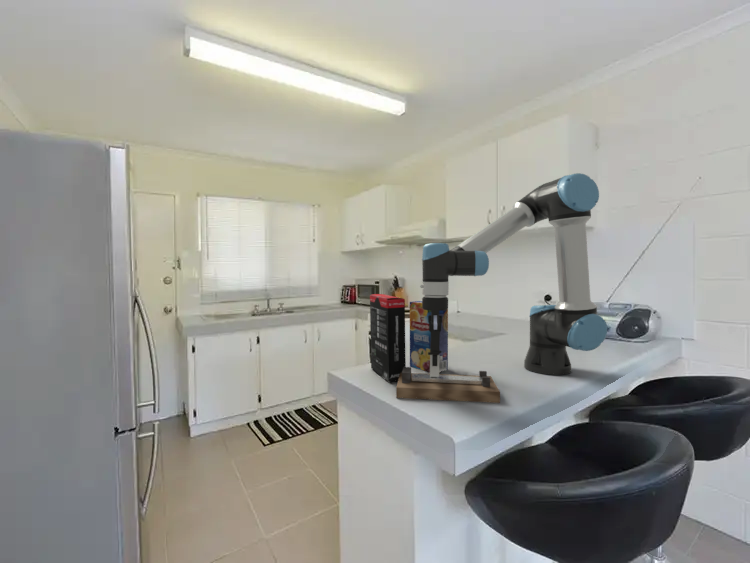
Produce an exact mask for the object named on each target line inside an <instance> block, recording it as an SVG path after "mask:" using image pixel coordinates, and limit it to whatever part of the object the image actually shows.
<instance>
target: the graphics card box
mask: <svg viewBox="0 0 750 563" xmlns="http://www.w3.org/2000/svg"><path fill="white" fill-rule="evenodd" d="M369 317H370V318H369V320H370V321H369V322H370V363H371V364H370V367H371V369H372V370H373V371H374V372H375V373H377V374H378V375H379V376H380V377H382V378H383V379H384V380H385V381H386V382H388V383H394V382H398V379H399V375H400V373H402V371H403V367H407V365H406V362H407V361H406V300H405V298H402V297H398V296H394V295H393V296H392V295H388V294H386V293H385V294H382V293H374V294H373V293H372V294H369Z"/></svg>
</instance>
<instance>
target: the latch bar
mask: <svg viewBox="0 0 750 563" xmlns="http://www.w3.org/2000/svg"><path fill="white" fill-rule="evenodd" d="M452 375H453V374H449V375H439V377H431V376H430V373H422V374H412V381H421V382H441V383H460V384H480V385H482V377H473V376H452Z"/></svg>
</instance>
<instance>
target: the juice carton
mask: <svg viewBox="0 0 750 563" xmlns="http://www.w3.org/2000/svg"><path fill="white" fill-rule="evenodd" d="M428 315H431V310H424V309H423V308H422V300H416V301H409V367H411V368H413V369H417V370H420V371H424V372H426V373H428V374H430V355H428V352H430V350H431V349H430V343H431V332H430V331H429V322H428ZM439 316H442V323H441V332H440V345H439V351H441V353H440V354H439V373H441V371H442V372H445V371H447V370H449V366H448V365H449V336H448V335H449V308H448V309H447V310H444V311H439ZM444 370H445V371H444Z"/></svg>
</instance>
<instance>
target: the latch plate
mask: <svg viewBox="0 0 750 563" xmlns="http://www.w3.org/2000/svg"><path fill="white" fill-rule="evenodd" d="M478 373H479V375H471V374H468V375H467V374H451V375H452V376H473V377H482V385H480V384H460V383H441V382H421V381H412V374H423V372H422V373H417V372H416V373H415V372H413V373H412V367H410V366H406V367H403V371H402V373H400V375H399V379H398V381H397V384H396V388H395V391H396V394H395V395H396V396H395V397H396V399H413V400H417V399H418V400H430V401H431V400H432V401H433V400H434V401H451V402H452V401H453V402H455V401H456V402H471V403H472V402H476V403H495V404H496V403H497V404H500V403H501V391H500V389H499V387H498V385H497V383H495V381H494V379H493V377H492V376H491V375H488V374H487V373H488V372H487V371H486V370H479V372H478ZM439 375H450V374H445V373H444V374H443V373H441V374H440V373H439Z"/></svg>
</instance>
